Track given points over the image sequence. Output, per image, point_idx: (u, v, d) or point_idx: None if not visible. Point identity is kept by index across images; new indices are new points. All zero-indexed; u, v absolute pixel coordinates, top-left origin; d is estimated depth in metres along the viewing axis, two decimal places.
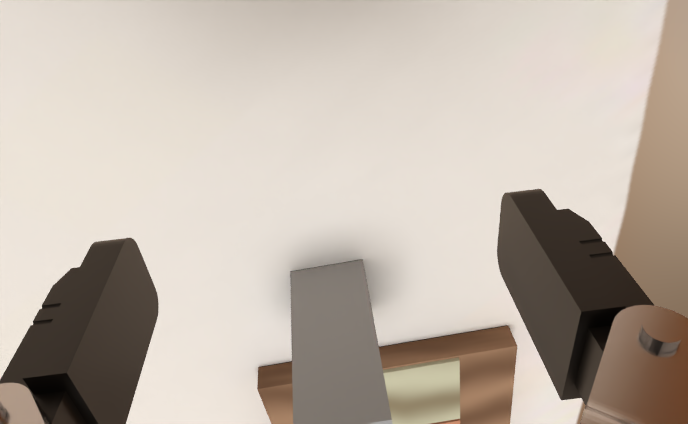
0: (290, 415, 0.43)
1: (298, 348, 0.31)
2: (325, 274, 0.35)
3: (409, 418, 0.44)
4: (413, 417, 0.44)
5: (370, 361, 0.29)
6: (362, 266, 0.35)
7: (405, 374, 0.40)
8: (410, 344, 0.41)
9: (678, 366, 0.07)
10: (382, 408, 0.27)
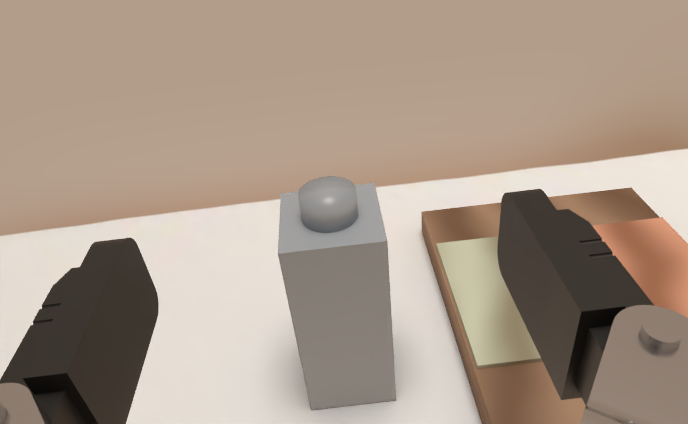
0: (567, 404, 0.27)
1: None
2: None
3: None
4: None
5: None
6: None
7: (458, 281, 0.35)
8: (443, 296, 0.37)
9: (678, 366, 0.07)
10: None
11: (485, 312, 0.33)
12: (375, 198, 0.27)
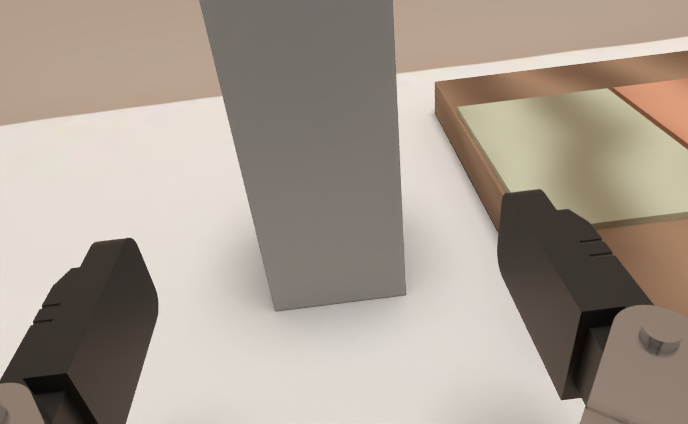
0: None
1: None
2: None
3: (622, 126, 0.24)
4: (619, 123, 0.25)
5: None
6: None
7: (493, 141, 0.24)
8: (469, 172, 0.26)
9: (678, 366, 0.07)
10: None
11: (537, 170, 0.22)
12: None
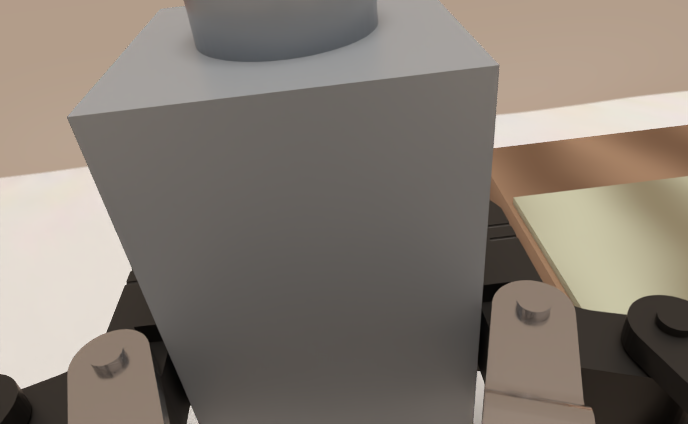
0: None
1: None
2: None
3: None
4: None
5: None
6: None
7: (575, 265, 0.17)
8: None
9: (542, 333, 0.08)
10: None
11: None
12: None
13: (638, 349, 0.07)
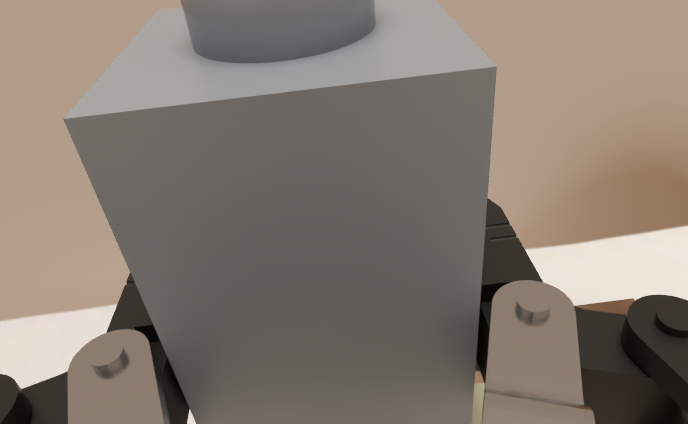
0: None
1: None
2: None
3: None
4: None
5: None
6: None
7: None
8: None
9: (542, 333, 0.08)
10: None
11: None
12: None
13: (638, 349, 0.07)
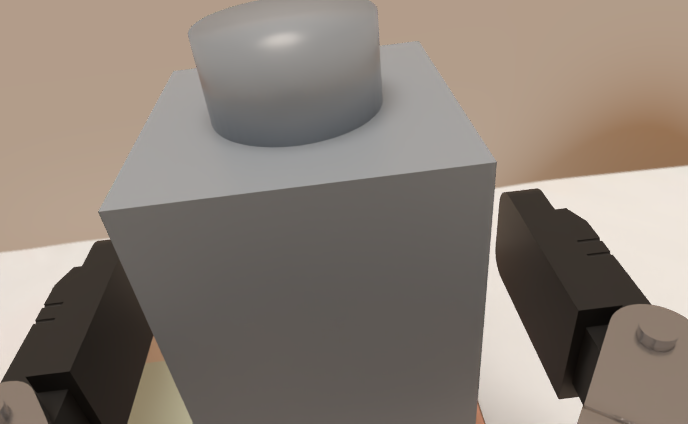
0: None
1: None
2: None
3: None
4: None
5: None
6: None
7: None
8: None
9: (674, 365, 0.07)
10: None
11: None
12: (428, 66, 0.09)
13: None
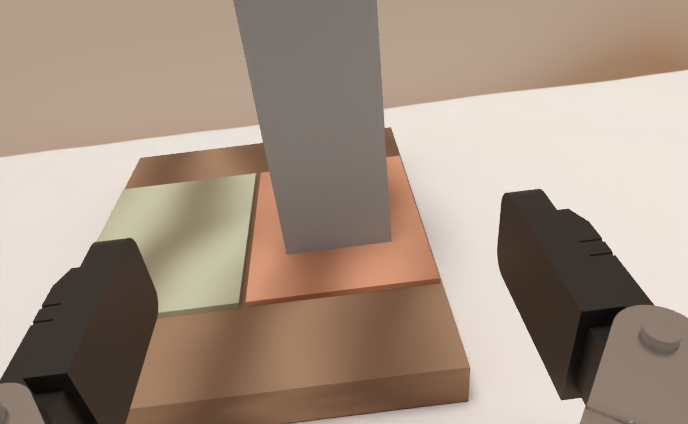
0: None
1: None
2: None
3: (225, 216, 0.28)
4: (226, 213, 0.28)
5: None
6: None
7: (113, 229, 0.28)
8: None
9: (678, 366, 0.07)
10: None
11: None
12: None
13: None
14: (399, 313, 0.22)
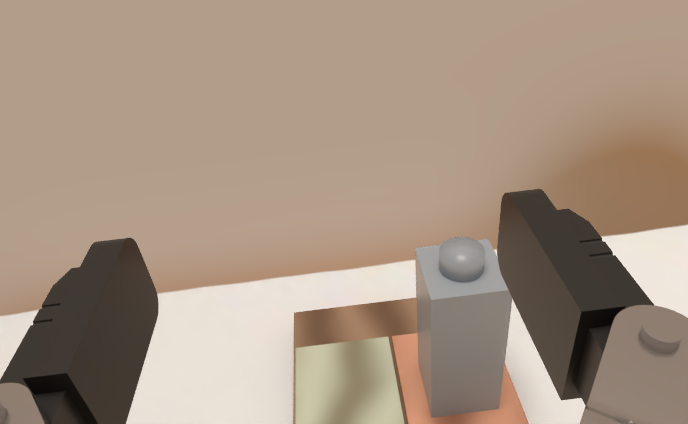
0: None
1: (429, 353, 0.35)
2: (424, 383, 0.40)
3: (378, 379, 0.42)
4: (378, 376, 0.42)
5: (417, 293, 0.37)
6: (418, 358, 0.42)
7: (303, 388, 0.42)
8: None
9: (678, 366, 0.07)
10: (416, 259, 0.36)
11: (316, 419, 0.39)
12: (493, 252, 0.35)
13: None
14: None
